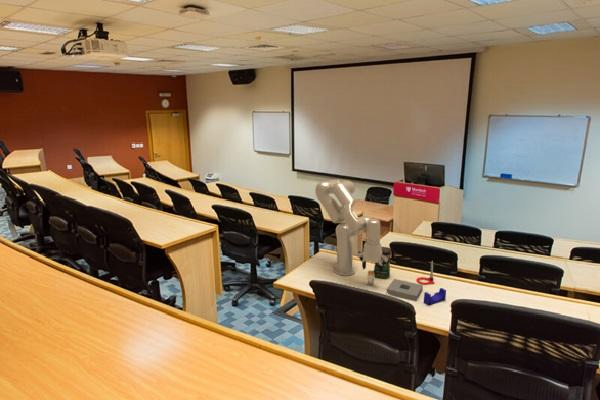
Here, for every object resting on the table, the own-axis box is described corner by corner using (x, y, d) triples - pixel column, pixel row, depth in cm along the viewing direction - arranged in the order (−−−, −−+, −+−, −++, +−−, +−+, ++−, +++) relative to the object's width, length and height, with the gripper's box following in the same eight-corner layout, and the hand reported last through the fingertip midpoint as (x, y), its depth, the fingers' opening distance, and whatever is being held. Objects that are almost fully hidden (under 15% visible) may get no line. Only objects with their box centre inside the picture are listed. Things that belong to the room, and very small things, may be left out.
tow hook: (418, 285, 212) (435, 285, 212) (418, 264, 209) (435, 264, 209) (414, 279, 220) (430, 278, 220) (415, 258, 217) (431, 258, 217)
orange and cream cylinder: (366, 285, 212) (367, 272, 210) (368, 282, 215) (369, 270, 213) (372, 286, 210) (373, 273, 208) (374, 284, 213) (375, 271, 211)
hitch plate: (386, 293, 202) (386, 288, 201) (393, 283, 214) (394, 278, 213) (416, 301, 194) (416, 296, 194) (422, 289, 206) (422, 285, 206)
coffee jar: (372, 277, 222) (373, 248, 217) (375, 272, 229) (376, 243, 224) (388, 280, 218) (390, 250, 213) (391, 274, 225) (392, 245, 220)
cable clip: (438, 296, 199) (439, 286, 198) (445, 300, 195) (446, 290, 194) (421, 301, 194) (422, 291, 193) (427, 305, 190) (428, 295, 189)
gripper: (355, 241, 207) (355, 269, 211) (386, 245, 198) (385, 275, 202) (360, 237, 213) (360, 265, 217) (390, 241, 205) (389, 270, 208)
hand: (372, 270), depth 209 cm, fingers open, 9 cm apart
